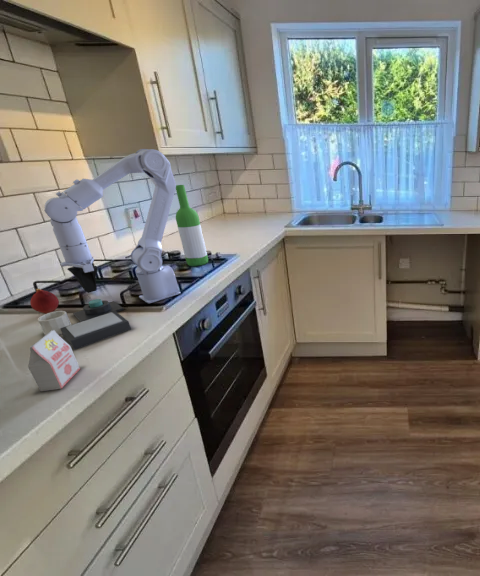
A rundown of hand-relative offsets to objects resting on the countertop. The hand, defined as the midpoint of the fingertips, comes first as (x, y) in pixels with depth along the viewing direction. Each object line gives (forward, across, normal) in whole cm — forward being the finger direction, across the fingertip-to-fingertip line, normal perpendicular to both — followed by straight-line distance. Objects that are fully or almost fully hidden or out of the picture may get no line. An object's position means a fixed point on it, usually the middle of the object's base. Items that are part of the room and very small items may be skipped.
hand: (90, 290), depth 101 cm
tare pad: (+7, 0, 0) cm, 7 cm away
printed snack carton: (+7, +31, -15) cm, 35 cm away
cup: (+7, +4, -10) cm, 13 cm away
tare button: (+5, 0, 0) cm, 5 cm away
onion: (+7, -11, -9) cm, 16 cm away
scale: (+7, +14, -4) cm, 16 cm away
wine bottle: (+7, -19, +38) cm, 43 cm away
